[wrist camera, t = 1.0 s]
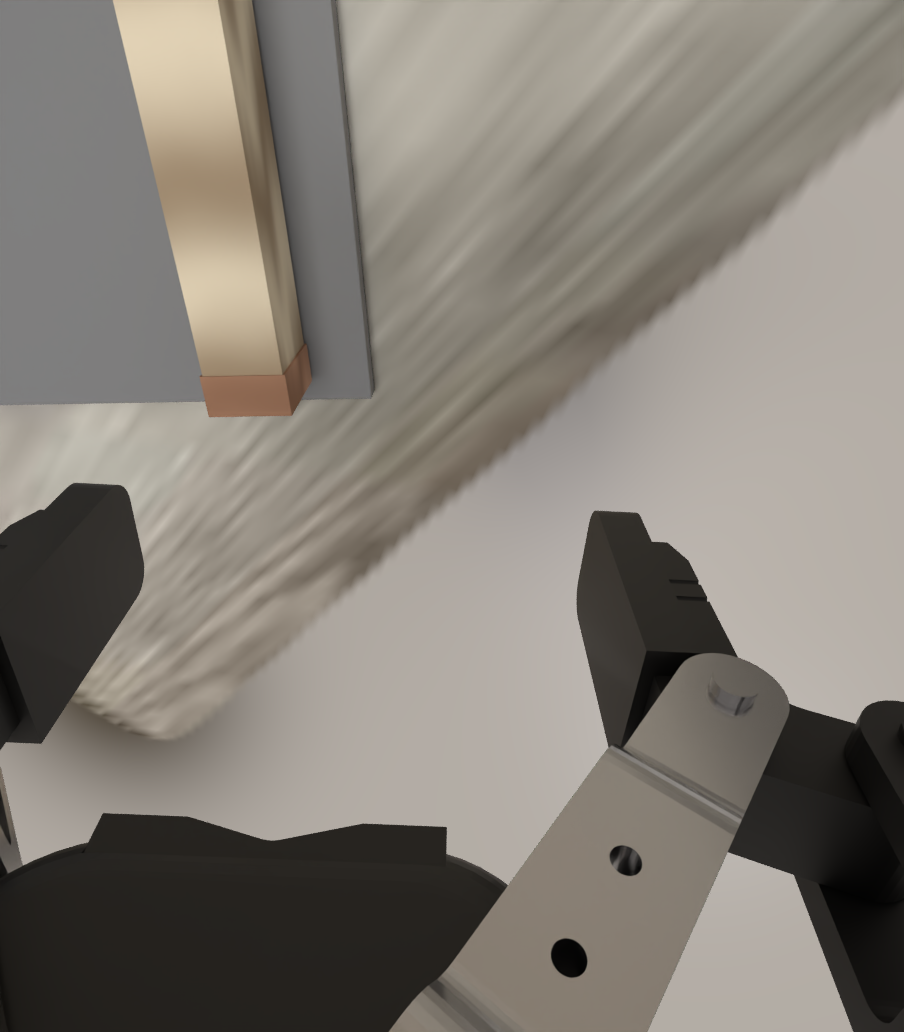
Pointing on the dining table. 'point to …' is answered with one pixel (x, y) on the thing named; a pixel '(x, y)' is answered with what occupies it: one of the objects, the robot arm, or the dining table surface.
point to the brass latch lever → (220, 197)
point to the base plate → (155, 211)
